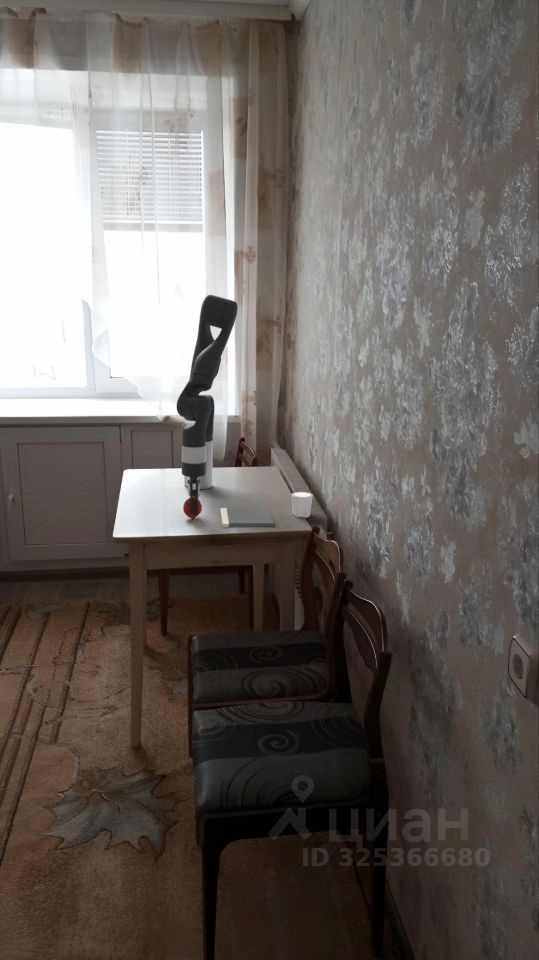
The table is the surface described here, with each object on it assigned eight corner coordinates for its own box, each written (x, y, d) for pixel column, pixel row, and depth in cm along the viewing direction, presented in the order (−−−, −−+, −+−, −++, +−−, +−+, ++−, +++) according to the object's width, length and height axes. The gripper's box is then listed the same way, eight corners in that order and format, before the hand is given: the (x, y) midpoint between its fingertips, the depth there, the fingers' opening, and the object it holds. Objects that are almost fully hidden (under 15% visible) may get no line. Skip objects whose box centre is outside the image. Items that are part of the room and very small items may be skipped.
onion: (198, 522, 232) (198, 498, 230) (180, 521, 233) (180, 496, 231) (203, 517, 237) (204, 492, 235) (186, 515, 238) (186, 491, 236)
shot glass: (289, 511, 246) (290, 491, 244) (310, 511, 246) (311, 491, 244) (292, 518, 239) (292, 497, 237) (313, 518, 240) (314, 497, 238)
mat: (222, 527, 228) (222, 523, 228) (220, 511, 244) (220, 507, 243) (274, 527, 230) (274, 523, 230) (269, 511, 245) (269, 507, 245)
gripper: (206, 465, 223) (206, 517, 228) (205, 454, 237) (205, 503, 241) (181, 465, 222) (181, 517, 227) (181, 454, 236) (181, 503, 240)
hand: (193, 510), depth 234 cm, fingers open, 8 cm apart
